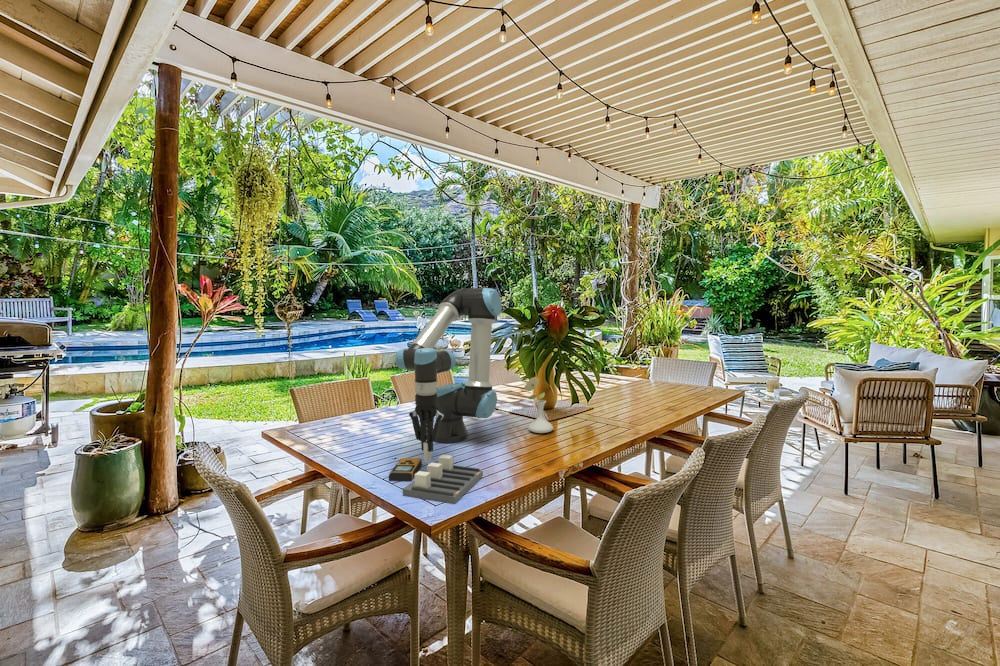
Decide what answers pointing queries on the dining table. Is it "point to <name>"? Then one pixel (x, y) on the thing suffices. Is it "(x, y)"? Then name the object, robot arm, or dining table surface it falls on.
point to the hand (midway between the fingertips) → (427, 459)
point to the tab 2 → (435, 470)
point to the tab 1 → (423, 479)
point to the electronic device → (405, 469)
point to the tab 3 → (446, 462)
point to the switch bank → (447, 485)
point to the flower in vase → (540, 423)
